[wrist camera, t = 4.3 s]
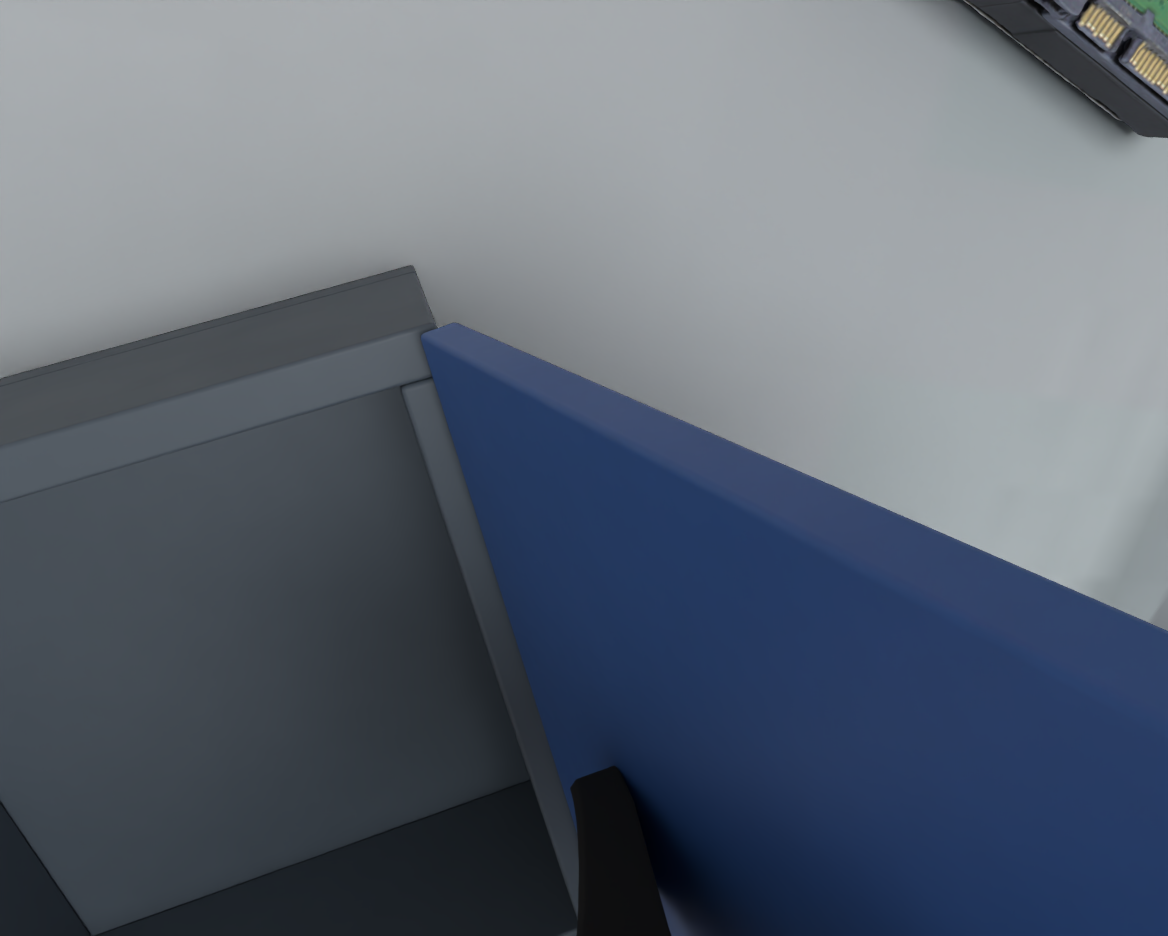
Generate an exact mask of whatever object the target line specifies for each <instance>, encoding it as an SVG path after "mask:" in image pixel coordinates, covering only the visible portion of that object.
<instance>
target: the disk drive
mask: <svg viewBox="0 0 1168 936" xmlns="http://www.w3.org/2000/svg"><path fill="white" fill-rule="evenodd" d="M963 1H965V2H966V3H967V4H969V5H971V6H972V7H973V8H974V9H975V10H977V11H978V12H979V13H980V14H981V15H982V16H984V17H985V18H987V19H988V20H989V21H991V22H992V23H993V24H995V25H996V26H997V27H998V28H1000V29H1001V30H1003V31H1004V32H1005V33H1006V34H1007V35H1009V36H1010V37H1011V38H1013V39H1014V40H1015V41H1017V42H1018V43H1019V44H1020V45H1022V46H1023V47H1024V48H1025V49H1026V50H1028V51H1029V52H1031V53H1032V54H1033V55H1034V56H1035V57H1037V58H1038V59H1039V60H1041V61H1042V62H1043V63H1044V64H1046V65H1047V66H1048V67H1050V68H1051V69H1052V70H1053V71H1054V72H1055V73H1057V74H1059V75H1060V76H1061V77H1062V78H1064V79H1065V80H1066V81H1068V82H1069V83H1071V84H1072V85H1073V86H1075V87H1076V88H1078V89H1079V90H1080V91H1081V92H1082V93H1084V94H1085V95H1086V96H1087V97H1088V98H1090V99H1091V100H1092V101H1094V102H1095V103H1096V104H1097V105H1099V106H1100V107H1102V108H1103V109H1104V110H1105V111H1106V112H1108V113H1110V114H1111V115H1112V116H1113V117H1114V118H1116V119H1117V120H1122V121H1123V122H1125V123H1126V124H1127V125H1128V126H1130V127H1131V128H1132V129H1133V131H1134V132H1136V133H1137V134H1138V135H1141V136H1145V137H1160V138H1168V0H963Z"/></svg>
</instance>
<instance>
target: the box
mask: <svg viewBox="0 0 1168 936" xmlns="http://www.w3.org/2000/svg"><path fill="white" fill-rule="evenodd" d="M434 329H437V326H436V323H435V321H434V318H433V316H432V313H431V310H430V308H429V305H428V303H427V300H426V297H425V295H424V292H423V290H422V287H421V285H420V282H419V279H418V277H417V274H416V271H415V269H414V267H413V266H407V267H404V268H400V269H396V270H393V271H389V272H385V273H382V274H378V275H375V276H371V277H367V278H364V279H360V280H356V281H353V282H349V283H346V284H342V285H338V286H335V287H331V288H328V289H324V290H320V291H317V292H313V293H309V294H306V295H302V296H299V297H295V298H291V299H288V300H284V301H280V302H277V303H273V304H270V305H266V306H262V307H259V308H255V309H252V310H248V311H244V312H241V313H237V314H233V315H230V316H226V317H223V318H219V319H215V320H212V321H208V322H204V323H201V324H197V325H194V326H190V327H186V328H183V329H179V330H176V331H172V332H168V333H165V334H161V335H157V336H154V337H150V338H147V339H143V340H139V341H136V342H132V343H128V344H125V345H121V346H118V347H114V348H110V349H107V350H103V351H100V352H96V353H92V354H89V355H85V356H81V357H78V358H74V359H71V360H67V361H63V362H60V363H56V364H52V365H49V366H45V367H42V368H38V369H34V370H31V371H27V372H24V373H20V374H16V375H13V376H9V377H5V378H2V379H0V936H577V922H578V884H579V857H578V835H577V831H576V828H575V825H574V822H573V819H572V816H571V813H570V809H569V806H568V803H567V800H566V797H565V794H564V790H563V787H562V784H561V781H560V778H559V775H558V771H557V768H556V765H555V762H554V759H553V756H552V752H551V749H550V746H549V743H548V740H547V737H546V734H545V730H544V727H543V724H542V721H541V718H540V715H539V711H538V708H537V705H536V702H535V699H534V696H533V692H532V689H531V686H530V683H529V680H528V677H527V673H526V670H525V667H524V664H523V661H522V658H521V655H520V651H519V648H518V645H517V642H516V639H515V636H514V632H513V629H512V626H511V623H510V620H509V617H508V613H507V610H506V607H505V604H504V601H503V598H502V594H501V591H500V588H499V585H498V582H497V579H496V576H495V572H494V569H493V566H492V563H491V560H490V557H489V553H488V550H487V547H486V544H485V541H484V538H483V534H482V531H481V528H480V525H479V522H478V519H477V515H476V512H475V509H474V506H473V503H472V500H471V496H470V493H469V490H468V487H467V484H466V481H465V478H464V474H463V471H462V468H461V465H460V462H459V459H458V455H457V452H456V449H455V446H454V443H453V440H452V436H451V433H450V430H449V427H448V424H447V421H446V417H445V414H444V411H443V408H442V405H441V402H440V399H439V395H438V392H437V389H436V386H435V383H434V380H433V376H432V373H431V370H430V367H429V364H428V361H427V357H426V354H425V351H424V348H423V345H422V342H421V335H422V334H424V333H426V332H428V331H431V330H434Z"/></svg>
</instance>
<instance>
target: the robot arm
mask: <svg viewBox="0 0 1168 936" xmlns="http://www.w3.org/2000/svg"><path fill="white" fill-rule="evenodd" d="M570 790H571V794H572V798H573V802H574V808H575V815H576V823H577V835H578V857H579V884H578V922H577V936H671V933H670V930H669V927H668V923H667V919H666V916H665V912H664V908H663V905H662V901H661V898H660V894H659V890H658V887H657V883H656V879H655V876H654V872H653V868H652V865H651V861H650V857H649V854H648V850H647V847H646V843H645V839H644V836H643V832H642V828H641V825H640V821H639V817H638V814H637V810H636V807H635V803H634V800H633V798H632V796H631V794H630V791H629V789H628V787H627V785H626V782H625V780H624V778H623V776H622V774H621V772H620V770H619V769H618V768H617V767H615V766H611V767H609V768H606V769H603V770H600V771H597V772H595V773H592V774H589V775H586V776H583V777H581V778H578V779H576V780H575V781H574V783H573V784H572V786H571V787H570Z"/></svg>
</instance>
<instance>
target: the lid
mask: <svg viewBox="0 0 1168 936" xmlns="http://www.w3.org/2000/svg"><path fill="white" fill-rule="evenodd" d="M421 342H422V345H423V348H424V351H425V354H426V357H427V361H428V364H429V367H430V370H431V373H432V376H433V380H434V383H435V386H436V389H437V392H438V395H439V399H440V402H441V405H442V408H443V411H444V414H445V417H446V421H447V424H448V427H449V430H450V433H451V436H452V440H453V443H454V446H455V449H456V452H457V455H458V459H459V462H460V465H461V468H462V471H463V474H464V478H465V481H466V484H467V487H468V490H469V493H470V496H471V500H472V503H473V506H474V509H475V512H476V515H477V519H478V522H479V525H480V528H481V531H482V534H483V538H484V541H485V544H486V547H487V550H488V553H489V557H490V560H491V563H492V566H493V569H494V572H495V576H496V579H497V582H498V585H499V588H500V591H501V594H502V598H503V601H504V604H505V607H506V610H507V613H508V617H509V620H510V623H511V626H512V629H513V632H514V636H515V639H516V642H517V645H518V648H519V651H520V655H521V658H522V661H523V664H524V667H525V670H526V673H527V677H528V680H529V683H530V686H531V689H532V692H533V696H534V699H535V702H536V705H537V708H538V711H539V715H540V718H541V721H542V724H543V727H544V730H545V734H546V737H547V740H548V743H549V746H550V749H551V752H552V756H553V759H554V762H555V765H556V768H557V771H558V775H559V778H560V781H561V784H562V787H563V790H564V794H565V797H566V800H567V803H568V806H569V809H570V813H571V816H572V819H573V822H574V825H575V828H576V831H577V823H576V815H575V808H574V802H573V798H572V794H571V790H570V787H571V786H572V784H573V783H574V781H575V780H576V779H578V778H581V777H583V776H586V775H589V774H592V773H595V772H597V771H600V770H603V769H606V768H609V767H611V766H615V767H617V768H618V769H619V770H620V772H621V774H622V776H623V778H624V780H625V782H626V785H627V787H628V789H629V791H630V794H631V796H632V798H633V800H634V803H635V807H636V810H637V814H638V817H639V821H640V825H641V828H642V832H643V836H644V839H645V843H646V847H647V850H648V854H649V857H650V861H651V865H652V868H653V872H654V876H655V879H656V883H657V887H658V890H659V894H660V898H661V901H662V905H663V908H664V912H665V916H666V919H667V923H668V927H669V930H670V933H671V936H1168V631H1166V630H1164V629H1162V628H1159V627H1157V626H1155V625H1153V624H1150V623H1148V622H1146V621H1143V620H1141V619H1139V618H1136V617H1134V616H1132V615H1130V614H1127V613H1125V612H1123V611H1120V610H1118V609H1116V608H1113V607H1111V606H1109V605H1106V604H1104V603H1102V602H1100V601H1097V600H1095V599H1093V598H1090V597H1088V596H1086V595H1083V594H1081V593H1079V592H1077V591H1074V590H1072V589H1070V588H1067V587H1065V586H1063V585H1060V584H1058V583H1056V582H1053V581H1051V580H1049V579H1047V578H1044V577H1042V576H1040V575H1037V574H1035V573H1033V572H1030V571H1028V570H1026V569H1023V568H1021V567H1019V566H1017V565H1014V564H1012V563H1010V562H1007V561H1005V560H1003V559H1000V558H998V557H996V556H993V555H991V554H989V553H987V552H984V551H982V550H980V549H977V548H975V547H973V546H970V545H968V544H966V543H963V542H961V541H959V540H957V539H954V538H952V537H950V536H947V535H945V534H943V533H940V532H938V531H936V530H934V529H931V528H929V527H927V526H924V525H922V524H920V523H917V522H915V521H913V520H910V519H908V518H906V517H904V516H901V515H899V514H897V513H894V512H892V511H890V510H887V509H885V508H883V507H880V506H878V505H876V504H874V503H871V502H869V501H867V500H864V499H862V498H860V497H857V496H855V495H853V494H850V493H848V492H846V491H844V490H841V489H839V488H837V487H834V486H832V485H830V484H827V483H825V482H823V481H821V480H818V479H816V478H814V477H811V476H809V475H807V474H804V473H802V472H800V471H797V470H795V469H793V468H791V467H788V466H786V465H784V464H781V463H779V462H777V461H774V460H772V459H770V458H767V457H765V456H763V455H761V454H758V453H756V452H754V451H751V450H749V449H747V448H744V447H742V446H740V445H737V444H735V443H733V442H731V441H728V440H726V439H724V438H721V437H719V436H717V435H714V434H712V433H710V432H707V431H705V430H703V429H701V428H698V427H696V426H694V425H691V424H689V423H687V422H684V421H682V420H680V419H678V418H675V417H673V416H671V415H668V414H666V413H664V412H661V411H659V410H657V409H654V408H652V407H650V406H648V405H645V404H643V403H641V402H638V401H636V400H634V399H631V398H629V397H627V396H624V395H622V394H620V393H618V392H615V391H613V390H611V389H608V388H606V387H604V386H601V385H599V384H597V383H594V382H592V381H590V380H588V379H585V378H583V377H581V376H578V375H576V374H574V373H571V372H569V371H567V370H565V369H562V368H560V367H558V366H555V365H553V364H551V363H548V362H546V361H544V360H541V359H539V358H537V357H535V356H532V355H530V354H528V353H525V352H523V351H521V350H518V349H516V348H514V347H511V346H509V345H507V344H505V343H502V342H500V341H498V340H495V339H493V338H491V337H488V336H486V335H484V334H481V333H479V332H477V331H475V330H472V329H470V328H468V327H465V326H463V325H461V324H458V323H451V324H448V325H446V326H443V327H440V328H437V329H434V330H431V331H428V332H426V333H424V334H422V335H421Z"/></svg>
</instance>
